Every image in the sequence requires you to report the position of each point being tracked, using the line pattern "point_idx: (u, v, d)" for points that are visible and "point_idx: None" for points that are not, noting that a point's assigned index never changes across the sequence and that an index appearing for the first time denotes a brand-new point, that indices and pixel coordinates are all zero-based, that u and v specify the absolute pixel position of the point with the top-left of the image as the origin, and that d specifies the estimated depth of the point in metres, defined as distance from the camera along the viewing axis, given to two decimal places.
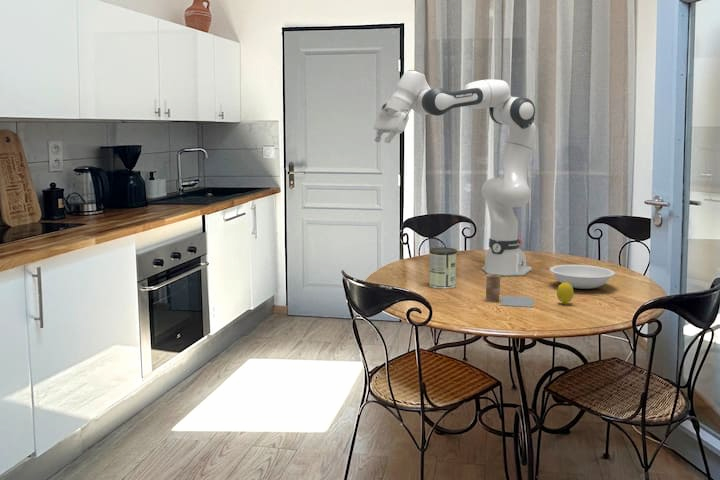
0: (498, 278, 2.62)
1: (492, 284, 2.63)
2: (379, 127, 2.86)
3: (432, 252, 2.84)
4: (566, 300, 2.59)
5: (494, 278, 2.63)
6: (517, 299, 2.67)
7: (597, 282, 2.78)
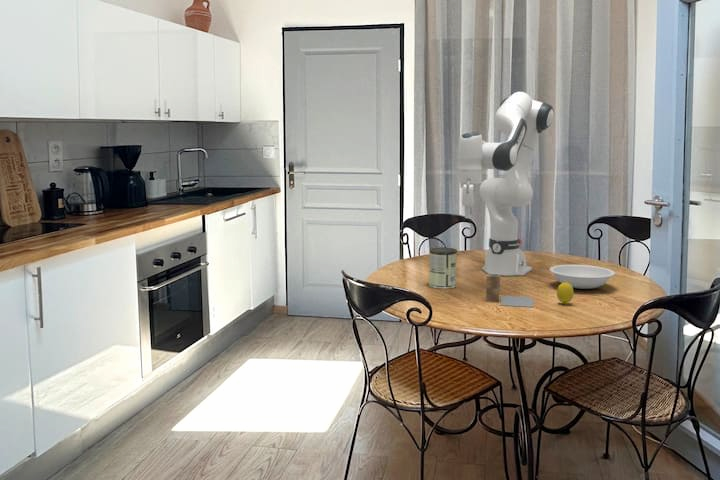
0: (498, 278, 2.62)
1: (492, 284, 2.63)
2: None
3: (432, 252, 2.84)
4: (566, 300, 2.59)
5: (494, 278, 2.63)
6: (517, 299, 2.67)
7: (597, 282, 2.78)
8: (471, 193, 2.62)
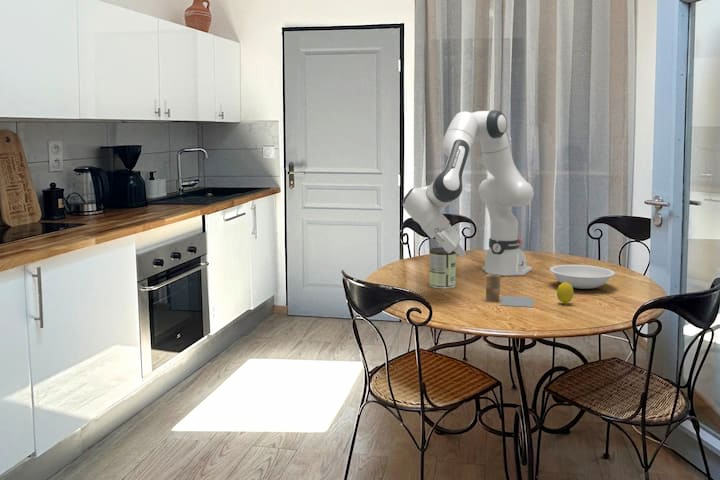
0: (498, 278, 2.62)
1: (492, 284, 2.63)
2: None
3: (432, 252, 2.84)
4: (566, 300, 2.59)
5: (494, 278, 2.63)
6: (517, 299, 2.67)
7: (597, 282, 2.78)
8: (446, 238, 2.57)
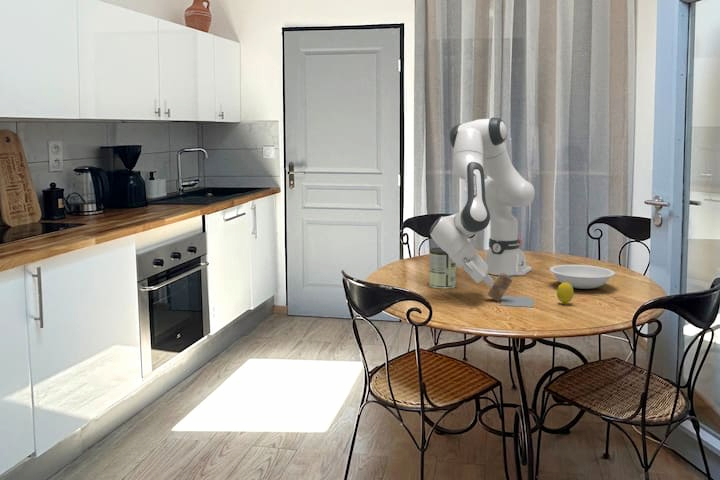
0: (510, 281, 2.62)
1: (502, 283, 2.62)
2: None
3: (432, 252, 2.84)
4: (566, 300, 2.59)
5: (507, 279, 2.62)
6: (517, 299, 2.67)
7: (597, 282, 2.78)
8: (475, 268, 2.56)
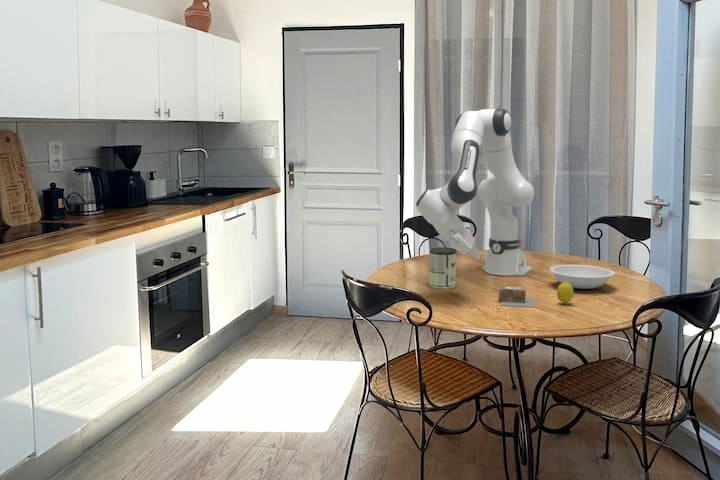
0: (523, 301, 2.62)
1: (517, 295, 2.62)
2: None
3: (432, 252, 2.84)
4: (566, 300, 2.59)
5: (523, 297, 2.61)
6: None
7: (597, 282, 2.78)
8: (461, 240, 2.56)
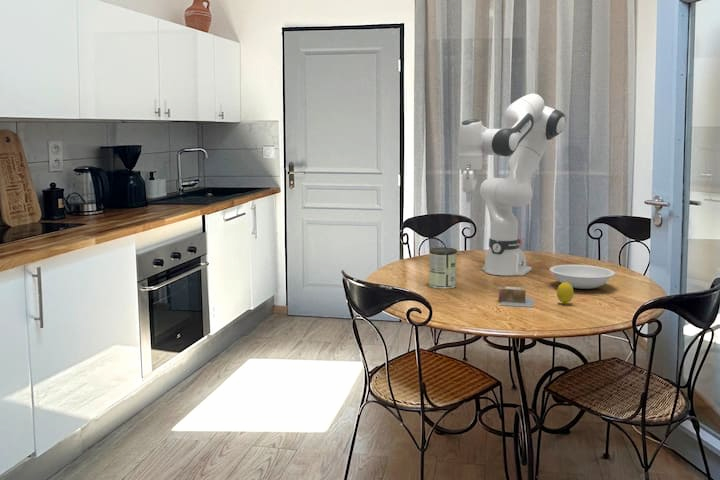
0: (523, 301, 2.62)
1: (517, 295, 2.62)
2: None
3: (432, 252, 2.84)
4: (566, 300, 2.59)
5: (523, 297, 2.61)
6: None
7: (597, 282, 2.78)
8: (471, 179, 2.66)
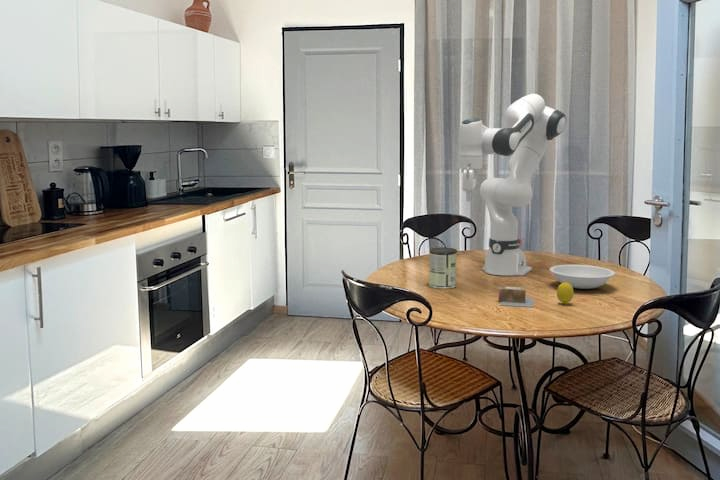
0: (523, 301, 2.62)
1: (517, 295, 2.62)
2: None
3: (432, 252, 2.84)
4: (566, 300, 2.59)
5: (523, 297, 2.61)
6: None
7: (597, 282, 2.78)
8: (471, 178, 2.66)
